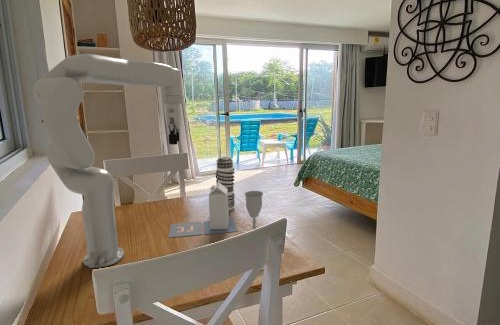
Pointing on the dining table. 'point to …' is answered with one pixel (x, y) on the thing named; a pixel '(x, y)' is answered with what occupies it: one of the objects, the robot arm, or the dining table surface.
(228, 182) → the decorative candle
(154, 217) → the dining table surface
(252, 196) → the chalice
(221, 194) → the milk carton
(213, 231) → the mat
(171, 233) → the tile
